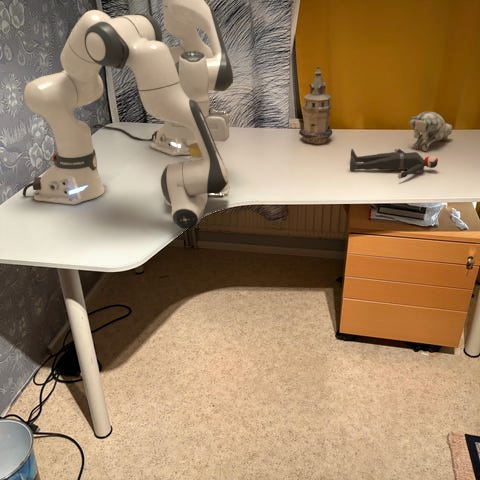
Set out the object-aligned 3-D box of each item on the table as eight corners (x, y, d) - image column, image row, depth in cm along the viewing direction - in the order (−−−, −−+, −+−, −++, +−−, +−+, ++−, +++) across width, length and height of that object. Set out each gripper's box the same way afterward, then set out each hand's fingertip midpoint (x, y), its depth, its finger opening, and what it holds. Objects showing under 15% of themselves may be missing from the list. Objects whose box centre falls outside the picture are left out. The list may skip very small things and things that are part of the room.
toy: (351, 141, 203) (434, 141, 197) (350, 156, 206) (432, 157, 200) (349, 166, 181) (443, 167, 175) (349, 183, 184) (441, 185, 178)
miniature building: (320, 132, 228) (325, 59, 214) (338, 142, 217) (344, 66, 203) (293, 137, 224) (296, 63, 209) (310, 147, 213) (314, 69, 198)
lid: (186, 151, 169) (186, 144, 168) (202, 148, 171) (202, 141, 170) (193, 156, 165) (193, 149, 164) (209, 153, 167) (209, 146, 166)
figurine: (439, 162, 206) (463, 135, 215) (427, 119, 197) (453, 93, 206) (416, 162, 213) (441, 135, 222) (404, 120, 204) (430, 94, 213)
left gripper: (227, 186, 159) (231, 168, 171) (159, 185, 160) (168, 167, 172) (228, 205, 162) (231, 187, 174) (161, 204, 163) (169, 185, 175)
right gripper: (231, 107, 162) (232, 151, 169) (167, 104, 166) (170, 147, 173) (226, 113, 156) (227, 158, 163) (160, 110, 161) (164, 153, 167)
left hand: (199, 177), depth 173 cm, fingers closed on jar, 5 cm apart
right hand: (197, 152), depth 168 cm, fingers closed on lid, 5 cm apart
